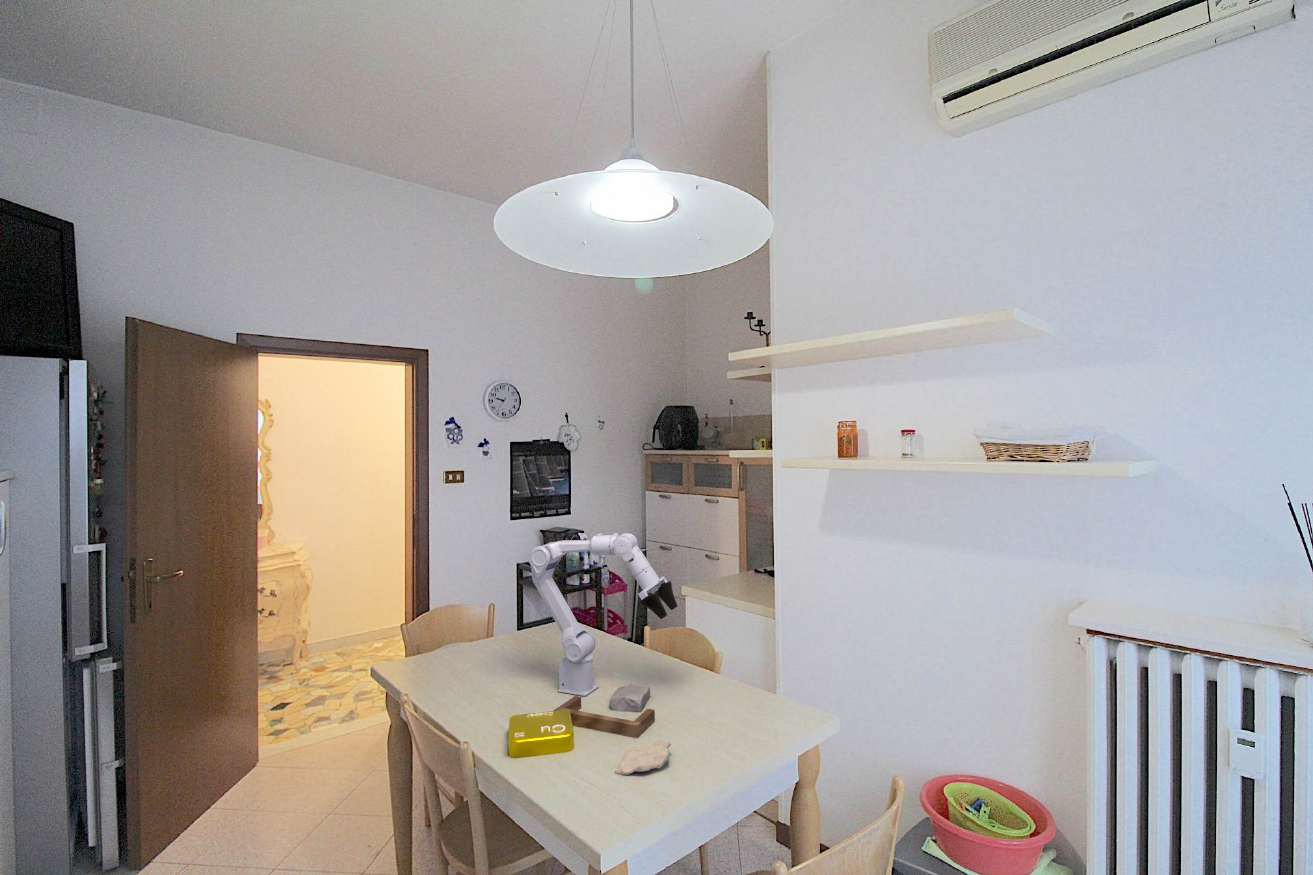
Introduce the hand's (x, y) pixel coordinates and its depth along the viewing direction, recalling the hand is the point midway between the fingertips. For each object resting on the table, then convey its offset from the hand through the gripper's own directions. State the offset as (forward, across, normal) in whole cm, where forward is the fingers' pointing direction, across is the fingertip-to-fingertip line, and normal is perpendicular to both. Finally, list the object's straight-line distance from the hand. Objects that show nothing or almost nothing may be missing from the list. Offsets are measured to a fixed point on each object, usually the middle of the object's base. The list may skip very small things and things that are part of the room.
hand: (669, 612), depth 174 cm
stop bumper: (+13, -22, +21) cm, 33 cm away
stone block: (+14, -9, +22) cm, 27 cm away
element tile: (+7, -36, +28) cm, 47 cm away
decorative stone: (+22, -37, +5) cm, 44 cm away
